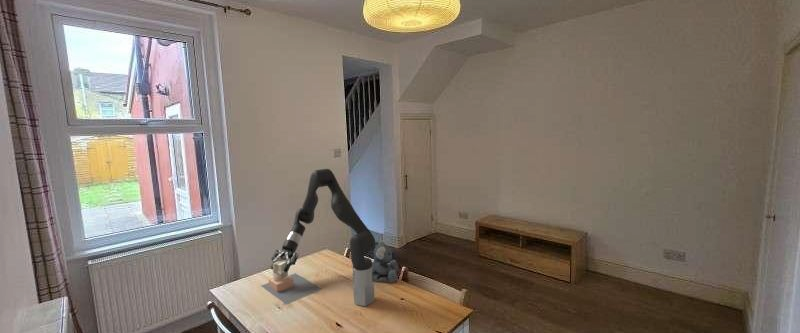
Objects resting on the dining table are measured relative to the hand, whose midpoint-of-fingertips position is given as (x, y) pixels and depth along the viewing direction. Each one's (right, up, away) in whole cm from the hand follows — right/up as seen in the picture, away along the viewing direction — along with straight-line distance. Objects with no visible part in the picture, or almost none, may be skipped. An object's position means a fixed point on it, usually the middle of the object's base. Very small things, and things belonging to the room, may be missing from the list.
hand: (278, 270), depth 165 cm
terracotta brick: (+1, -9, +2) cm, 9 cm away
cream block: (+1, -5, +2) cm, 5 cm away
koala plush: (+53, -8, +13) cm, 55 cm away
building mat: (+6, -10, +1) cm, 12 cm away
